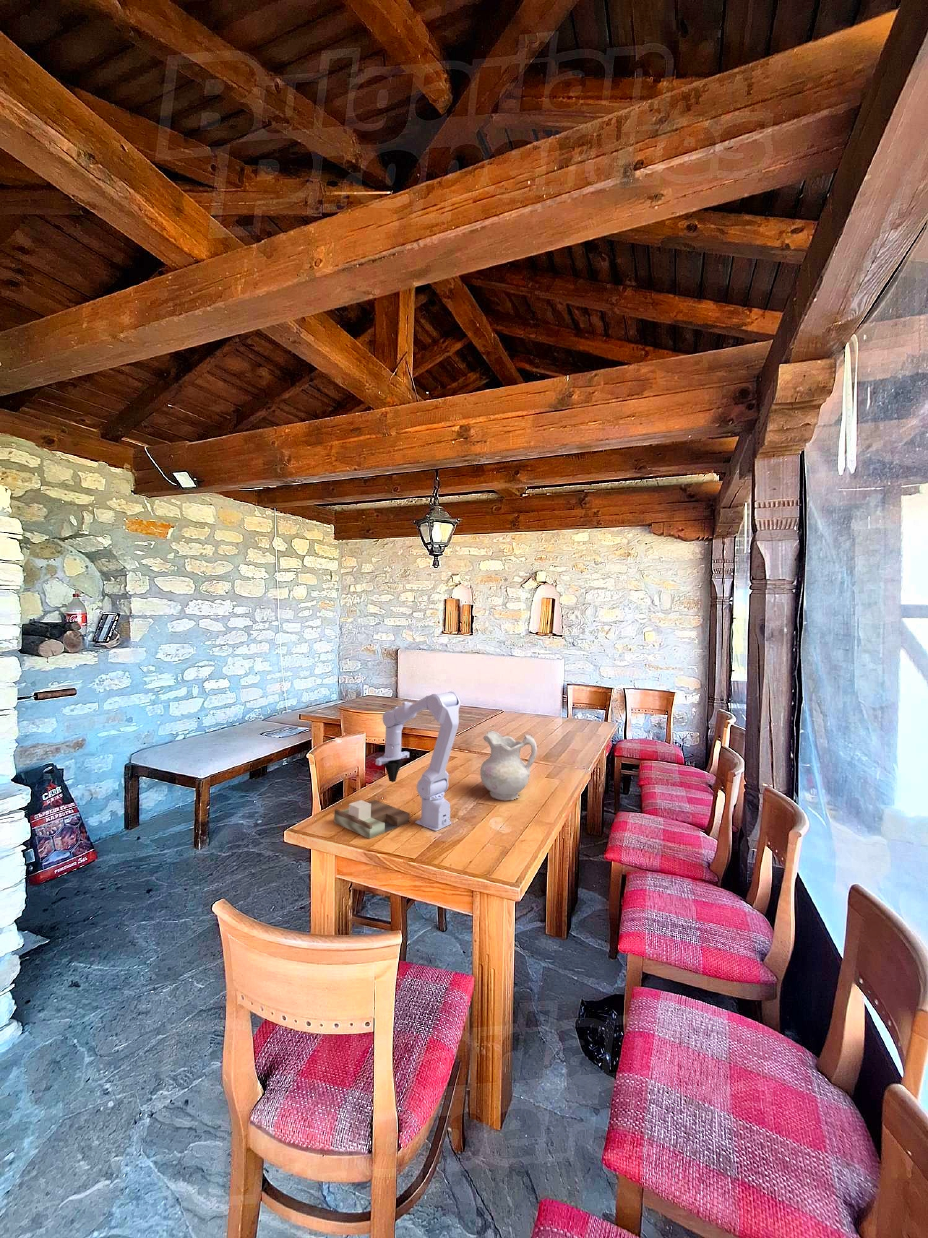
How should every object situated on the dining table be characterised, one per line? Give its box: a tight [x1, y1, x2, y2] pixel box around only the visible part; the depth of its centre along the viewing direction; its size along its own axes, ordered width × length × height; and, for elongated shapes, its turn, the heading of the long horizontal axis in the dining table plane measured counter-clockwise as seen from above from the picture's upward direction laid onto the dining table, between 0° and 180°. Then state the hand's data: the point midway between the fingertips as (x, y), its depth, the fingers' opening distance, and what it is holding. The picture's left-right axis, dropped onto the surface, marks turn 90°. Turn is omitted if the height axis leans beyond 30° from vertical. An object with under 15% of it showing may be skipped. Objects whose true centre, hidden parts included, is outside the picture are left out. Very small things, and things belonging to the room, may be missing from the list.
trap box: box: [333, 799, 411, 840], centre depth 162 cm, size 18×17×4 cm
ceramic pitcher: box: [479, 730, 538, 802], centre depth 191 cm, size 22×20×25 cm
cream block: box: [348, 799, 371, 820], centre depth 158 cm, size 5×5×4 cm
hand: (392, 781), depth 175 cm, fingers closed
